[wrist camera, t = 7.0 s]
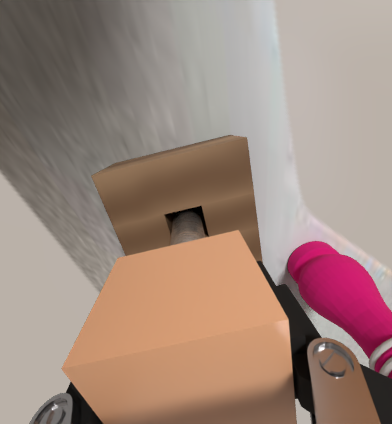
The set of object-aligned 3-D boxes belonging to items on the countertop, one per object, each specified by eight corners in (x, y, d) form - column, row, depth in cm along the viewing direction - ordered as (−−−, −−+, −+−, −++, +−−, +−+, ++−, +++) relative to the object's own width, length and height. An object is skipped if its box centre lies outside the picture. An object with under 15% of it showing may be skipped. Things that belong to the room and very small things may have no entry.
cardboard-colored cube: (117, 257, 10) (61, 369, 5) (238, 229, 10) (288, 319, 5) (154, 340, 12) (137, 468, 8) (253, 318, 12) (297, 436, 7)
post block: (115, 163, 21) (90, 175, 15) (229, 134, 21) (246, 137, 15) (151, 258, 26) (142, 294, 20) (245, 236, 25) (263, 266, 20)
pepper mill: (306, 290, 29) (519, 568, 11) (272, 266, 27) (461, 556, 9) (347, 255, 27) (690, 520, 9) (314, 226, 25) (667, 491, 7)
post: (168, 214, 18) (157, 291, 9) (198, 207, 18) (212, 279, 9) (176, 240, 19) (172, 330, 10) (204, 233, 19) (223, 319, 10)
